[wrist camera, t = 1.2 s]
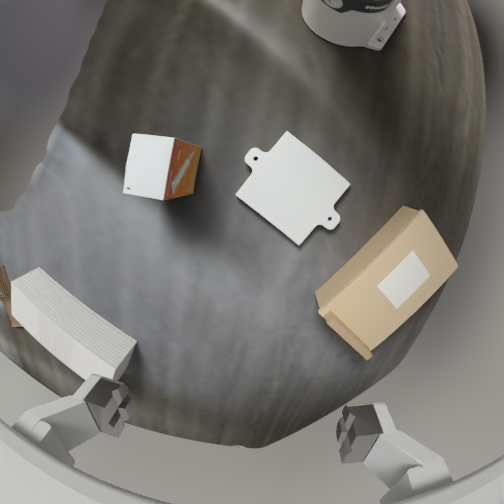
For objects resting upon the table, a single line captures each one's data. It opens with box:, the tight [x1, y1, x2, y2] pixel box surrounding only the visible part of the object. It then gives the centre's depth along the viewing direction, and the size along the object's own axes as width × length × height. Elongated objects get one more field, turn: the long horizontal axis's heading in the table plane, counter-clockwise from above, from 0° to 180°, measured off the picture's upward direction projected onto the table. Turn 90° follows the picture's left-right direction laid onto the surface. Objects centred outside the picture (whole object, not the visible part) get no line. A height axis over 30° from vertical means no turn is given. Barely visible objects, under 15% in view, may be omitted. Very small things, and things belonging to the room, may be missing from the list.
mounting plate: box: [236, 131, 350, 245], centre depth 42 cm, size 18×13×2 cm
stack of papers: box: [11, 267, 137, 381], centre depth 50 cm, size 32×11×11 cm, turn 60°
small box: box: [123, 134, 202, 200], centre depth 37 cm, size 8×6×13 cm
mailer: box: [315, 206, 419, 308], centre depth 42 cm, size 22×13×6 cm, turn 137°
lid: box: [318, 209, 458, 360], centre depth 38 cm, size 23×13×3 cm, turn 137°
